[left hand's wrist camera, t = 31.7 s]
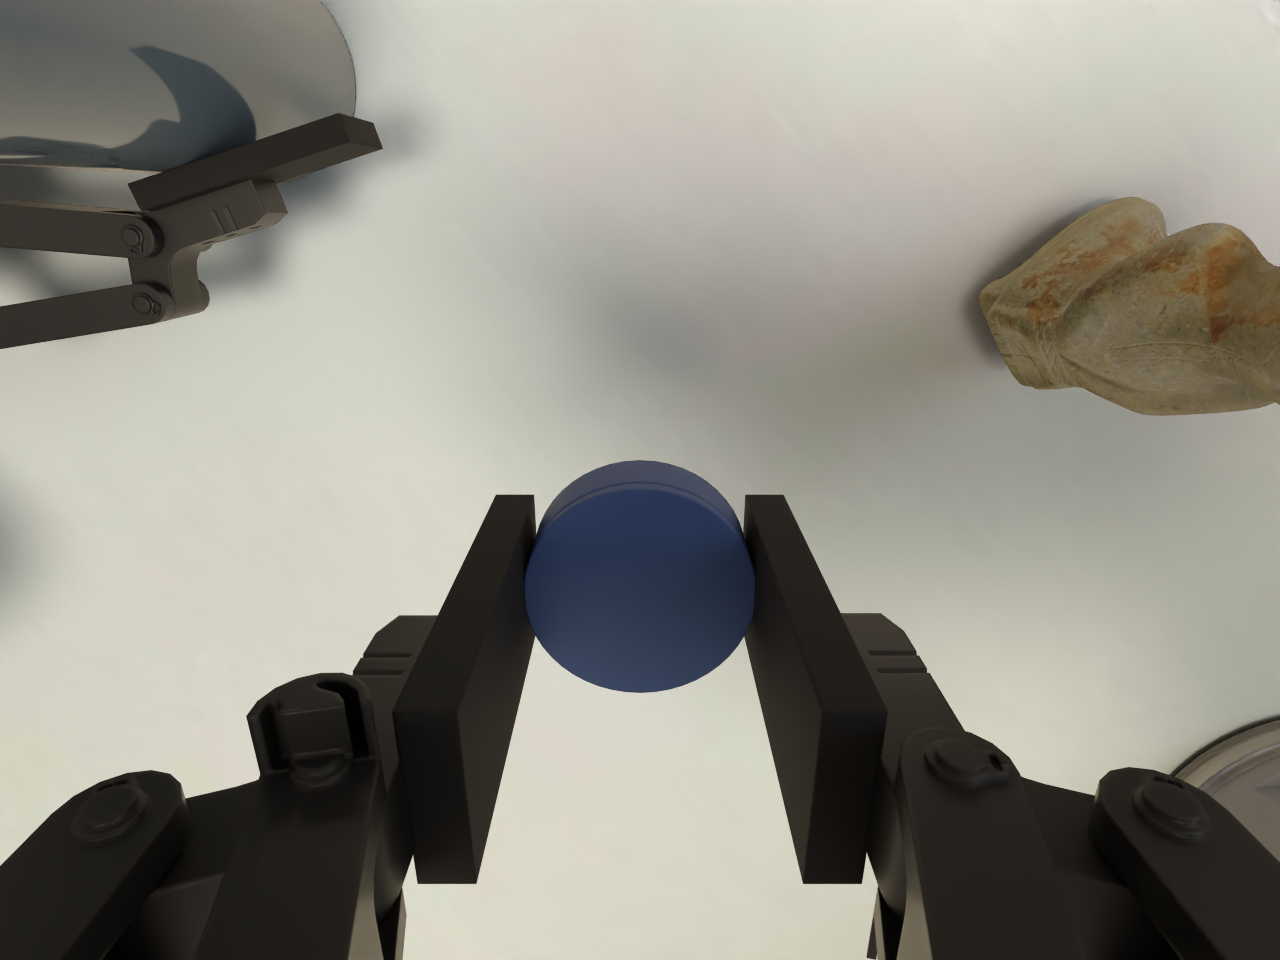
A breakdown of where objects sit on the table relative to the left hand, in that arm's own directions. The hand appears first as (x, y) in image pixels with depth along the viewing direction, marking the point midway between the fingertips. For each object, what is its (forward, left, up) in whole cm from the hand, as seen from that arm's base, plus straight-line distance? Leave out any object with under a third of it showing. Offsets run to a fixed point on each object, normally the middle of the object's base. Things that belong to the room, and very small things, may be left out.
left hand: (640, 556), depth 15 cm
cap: (0, 0, +1) cm, 1 cm away
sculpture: (-14, -9, -17) cm, 24 cm away
